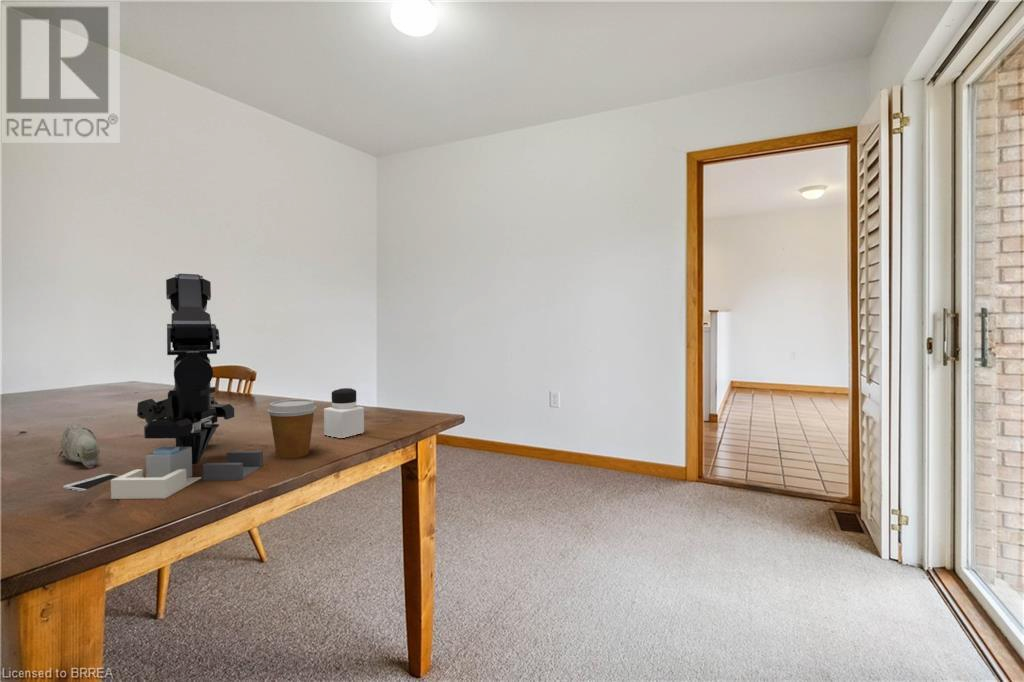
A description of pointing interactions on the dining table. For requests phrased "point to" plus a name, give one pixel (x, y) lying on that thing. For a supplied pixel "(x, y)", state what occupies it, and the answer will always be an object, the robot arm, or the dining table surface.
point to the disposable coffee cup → (292, 426)
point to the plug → (169, 461)
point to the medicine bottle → (343, 415)
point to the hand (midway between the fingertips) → (194, 463)
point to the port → (149, 485)
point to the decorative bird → (79, 444)
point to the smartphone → (89, 482)
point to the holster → (234, 466)
